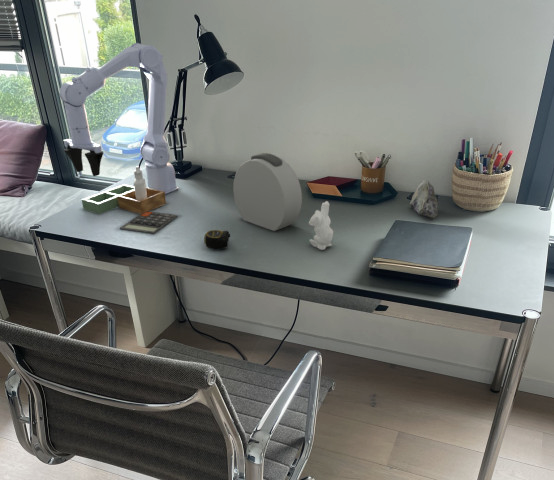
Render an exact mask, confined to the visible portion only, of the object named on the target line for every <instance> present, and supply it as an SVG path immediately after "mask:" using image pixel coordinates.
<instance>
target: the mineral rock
mask: <svg viewBox="0 0 554 480" xmlns="http://www.w3.org/2000/svg"><path fill="white" fill-rule="evenodd" d="M438 202H439V201H438V199H437V196H436V194H435V188H434V185H432V184H431V183H430V181H429V180H425V179H424V180H422V182H421V183H419V185H418V187H417V188H416V190H415V191H414V193H413V195H412V196H411V200H410V203H409V206H410V207H411V208H413V210H414V211H415V212H417V214H418V215H419V216H424V217H427V218H430V219H435V218H436V217H438V213H439V212H438V208H439V203H438Z"/></svg>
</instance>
